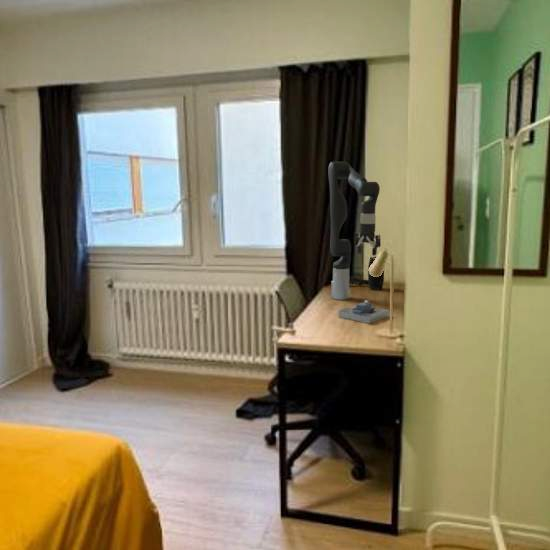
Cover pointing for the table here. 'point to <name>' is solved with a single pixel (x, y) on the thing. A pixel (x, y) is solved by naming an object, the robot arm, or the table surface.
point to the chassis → (363, 314)
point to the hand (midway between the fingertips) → (366, 254)
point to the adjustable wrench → (361, 282)
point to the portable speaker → (375, 278)
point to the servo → (364, 308)
